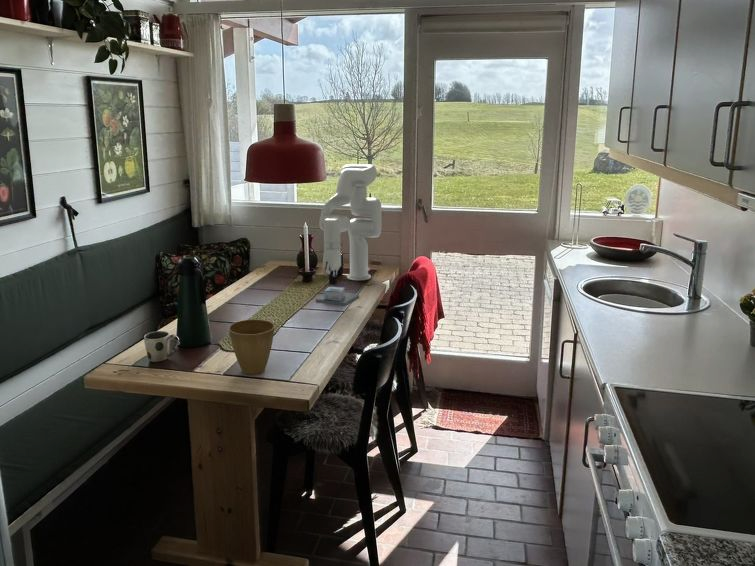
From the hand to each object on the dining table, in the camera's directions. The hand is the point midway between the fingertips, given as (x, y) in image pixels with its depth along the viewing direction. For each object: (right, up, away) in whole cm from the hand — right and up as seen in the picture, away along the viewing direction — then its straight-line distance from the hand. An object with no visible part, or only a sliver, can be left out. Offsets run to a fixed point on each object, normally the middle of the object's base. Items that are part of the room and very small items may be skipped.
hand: (333, 283), depth 290 cm
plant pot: (-21, -30, -78) cm, 86 cm away
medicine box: (+2, -3, +4) cm, 5 cm away
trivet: (+2, -7, +3) cm, 8 cm away
